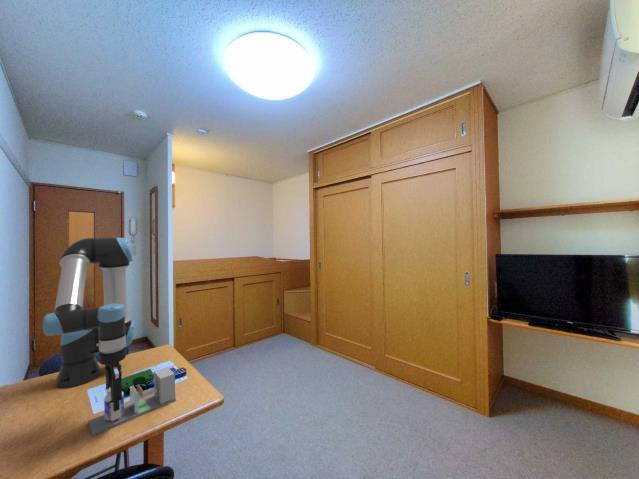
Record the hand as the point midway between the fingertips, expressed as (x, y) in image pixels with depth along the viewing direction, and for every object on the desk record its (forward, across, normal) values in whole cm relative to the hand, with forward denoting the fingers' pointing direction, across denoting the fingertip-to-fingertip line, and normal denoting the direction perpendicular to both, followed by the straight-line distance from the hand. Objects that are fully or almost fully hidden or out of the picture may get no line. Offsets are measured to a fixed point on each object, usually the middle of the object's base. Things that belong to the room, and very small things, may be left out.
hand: (114, 414), depth 94 cm
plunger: (+1, 0, +12) cm, 12 cm away
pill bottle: (+1, 0, 0) cm, 1 cm away
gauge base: (+2, 0, +6) cm, 6 cm away
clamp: (+2, -17, +11) cm, 20 cm away
